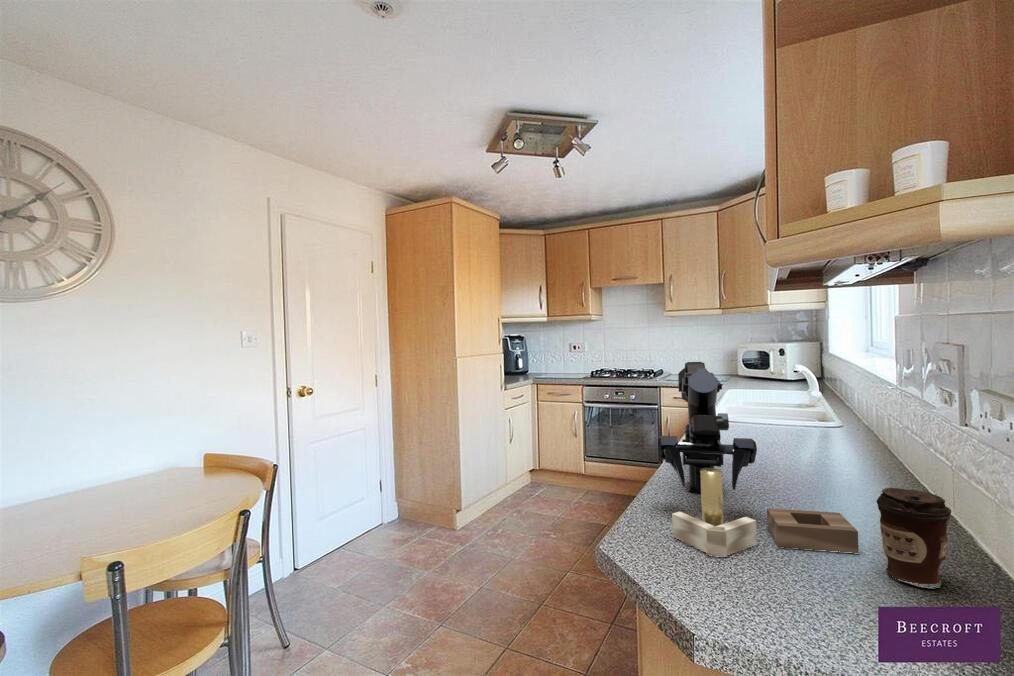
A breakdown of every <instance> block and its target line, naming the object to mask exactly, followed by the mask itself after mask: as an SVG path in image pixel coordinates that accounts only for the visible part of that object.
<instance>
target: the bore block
mask: <svg viewBox="0 0 1014 676" xmlns="http://www.w3.org/2000/svg"><path fill="white" fill-rule="evenodd" d="M766 516H767V517H766V519H767V520H766V521H767V522H766V523H767V530H768V533H770V535H771V537H772V539H773V541H774V540H775V541H774V543H775V544H776V546H777V545H778V546H777V547H784V548H783V549H786V548H798V549H812V550H826V551H838V552H839V551H840V552H852V553H859V552H860V551H859V530H857V528H855V526H854V525H852V524H851V523H850V521H849V520H847V519H846V517H844V516H843V515H842V513H841V512H834V511H816V510H801V509H787V508H768V507H767V508H766ZM798 549H797V550H798Z"/></svg>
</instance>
